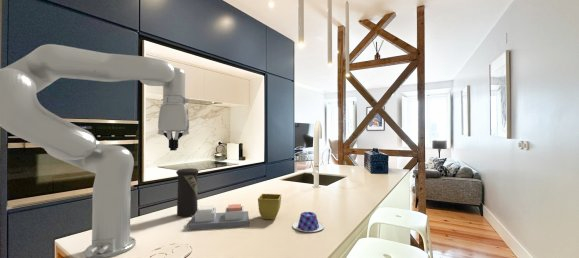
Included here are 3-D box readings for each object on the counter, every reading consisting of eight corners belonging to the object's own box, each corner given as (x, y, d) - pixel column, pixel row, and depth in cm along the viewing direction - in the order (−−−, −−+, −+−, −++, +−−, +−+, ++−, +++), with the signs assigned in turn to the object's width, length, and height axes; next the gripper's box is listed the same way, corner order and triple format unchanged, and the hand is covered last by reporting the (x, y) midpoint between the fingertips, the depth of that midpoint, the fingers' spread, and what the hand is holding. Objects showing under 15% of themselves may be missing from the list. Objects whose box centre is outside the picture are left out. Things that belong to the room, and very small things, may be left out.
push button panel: (248, 226, 95) (249, 212, 95) (188, 230, 91) (188, 216, 91) (248, 215, 107) (248, 204, 107) (194, 219, 103) (194, 207, 103)
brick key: (240, 215, 98) (241, 207, 98) (227, 216, 97) (227, 208, 97) (240, 211, 103) (241, 204, 103) (228, 212, 102) (228, 204, 102)
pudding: (325, 234, 88) (325, 219, 88) (291, 233, 89) (291, 218, 89) (323, 222, 100) (323, 209, 100) (293, 221, 101) (293, 208, 101)
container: (193, 217, 104) (193, 170, 105) (172, 217, 105) (172, 169, 105) (201, 211, 113) (201, 167, 114) (181, 211, 113) (182, 167, 114)
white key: (211, 217, 96) (212, 209, 96) (198, 217, 95) (198, 209, 95) (213, 212, 101) (213, 205, 101) (200, 213, 100) (200, 206, 100)
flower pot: (281, 214, 109) (281, 194, 109) (278, 221, 100) (278, 199, 100) (261, 214, 110) (261, 193, 110) (257, 221, 101) (257, 198, 101)
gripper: (196, 103, 99) (196, 149, 98) (155, 102, 96) (155, 149, 96) (193, 100, 92) (192, 150, 91) (148, 99, 89) (148, 151, 88)
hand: (173, 150), depth 93 cm, fingers closed
